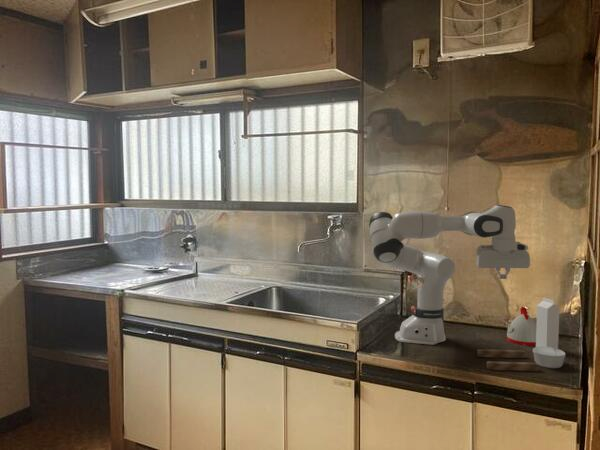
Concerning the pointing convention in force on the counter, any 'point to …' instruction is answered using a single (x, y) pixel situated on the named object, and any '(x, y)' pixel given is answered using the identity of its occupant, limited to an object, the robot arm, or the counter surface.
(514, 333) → the kitchen timer
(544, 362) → the ramekin
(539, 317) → the milk
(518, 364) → the parallel wooden rails
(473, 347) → the counter surface
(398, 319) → the counter surface
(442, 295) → the robot arm
